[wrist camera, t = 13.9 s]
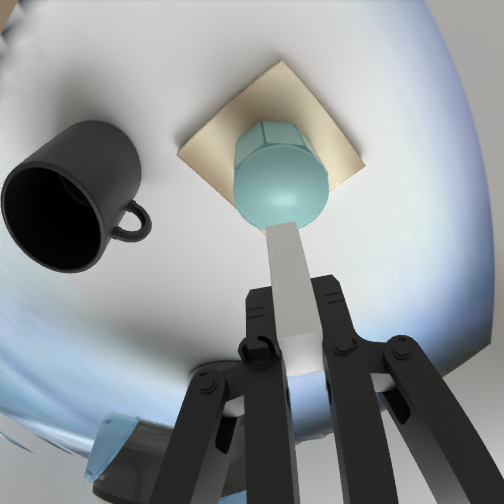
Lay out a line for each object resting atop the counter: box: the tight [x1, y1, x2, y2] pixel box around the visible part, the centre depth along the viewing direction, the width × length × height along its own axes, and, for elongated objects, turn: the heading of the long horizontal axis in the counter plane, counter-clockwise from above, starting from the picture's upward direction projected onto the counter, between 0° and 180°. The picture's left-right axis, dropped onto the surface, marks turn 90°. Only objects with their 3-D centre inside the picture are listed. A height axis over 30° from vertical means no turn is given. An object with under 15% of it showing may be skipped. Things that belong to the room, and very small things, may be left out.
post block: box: [176, 60, 365, 235], centre depth 22 cm, size 11×11×5 cm
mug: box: [1, 121, 152, 273], centre depth 21 cm, size 9×12×9 cm
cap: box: [233, 121, 329, 231], centre depth 21 cm, size 6×6×6 cm
